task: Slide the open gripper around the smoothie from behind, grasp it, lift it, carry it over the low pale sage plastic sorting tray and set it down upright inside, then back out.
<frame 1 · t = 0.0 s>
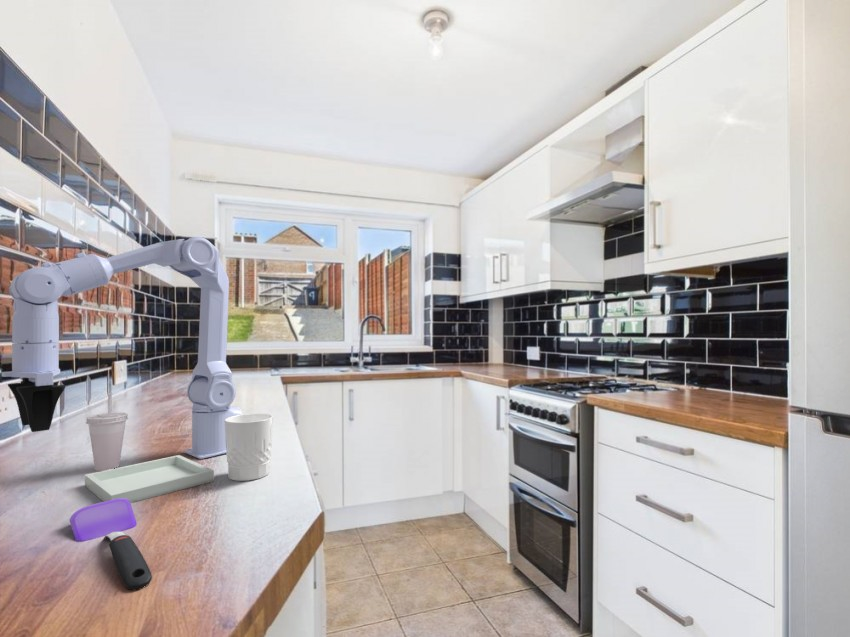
hand: (35, 427, 72), 10 cm above the counter, fingers open, 7 cm apart
spatula: (115, 552, 53), on the counter
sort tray: (149, 483, 75), on the counter
white cup: (249, 476, 79), on the counter
smoothie: (107, 468, 84), on the counter
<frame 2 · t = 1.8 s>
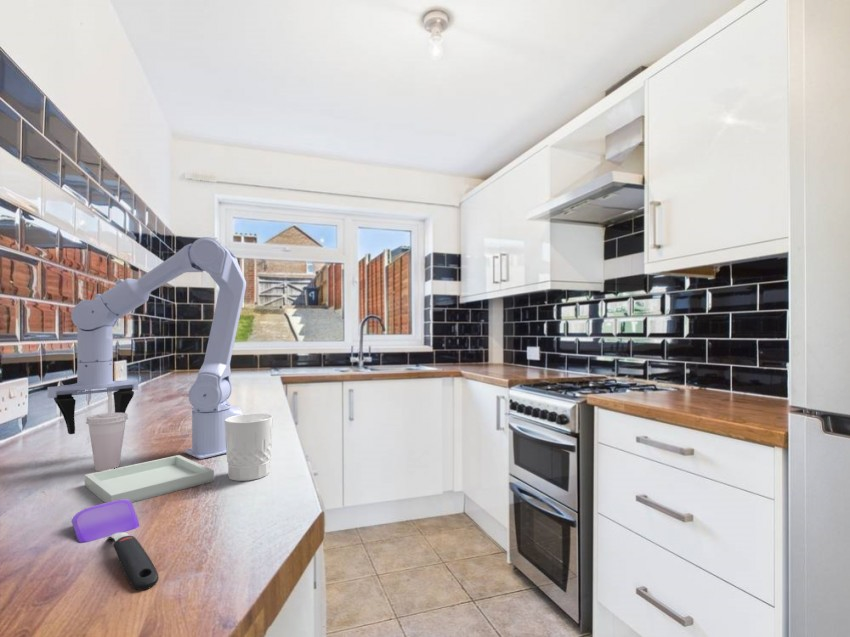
hand: (95, 429, 89), 6 cm above the counter, fingers open, 7 cm apart
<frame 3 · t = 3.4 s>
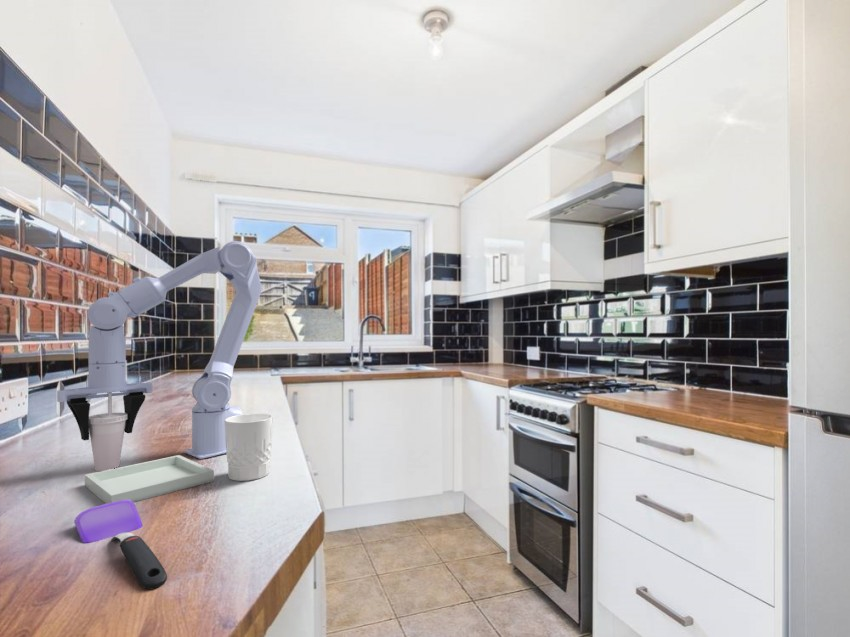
hand: (107, 435, 84), 6 cm above the counter, fingers closed on smoothie, 6 cm apart
smoothie: (107, 468, 84), on the counter, touching gripper
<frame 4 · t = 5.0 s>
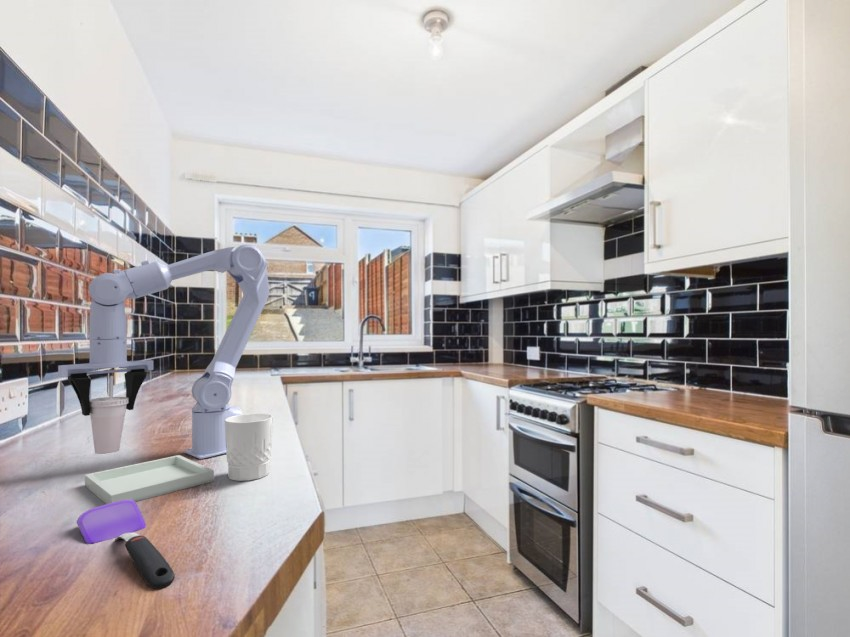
hand: (108, 412, 84), 10 cm above the counter, fingers closed on smoothie, 6 cm apart
smoothie: (107, 452, 84), point 3 cm above the counter, touching gripper
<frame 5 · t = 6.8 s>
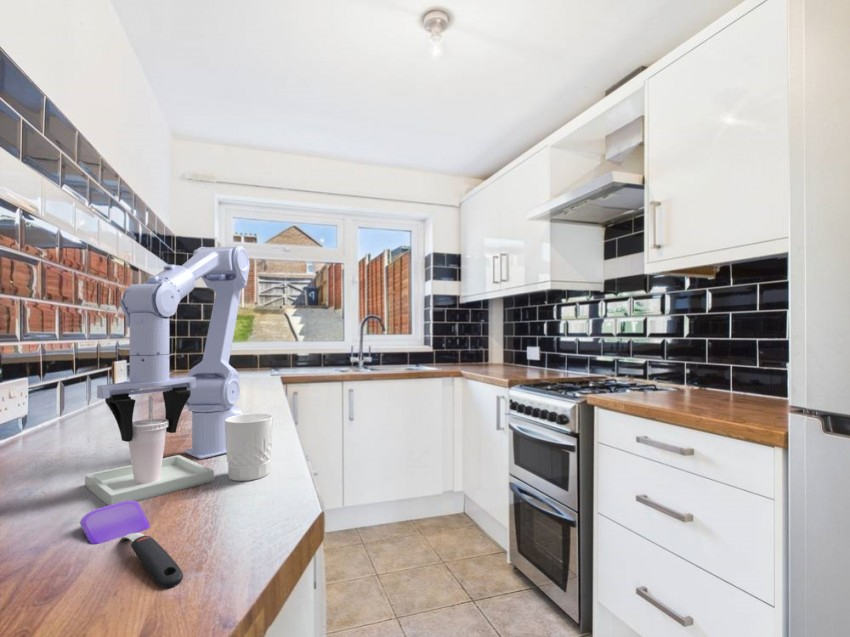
hand: (149, 436, 75), 8 cm above the counter, fingers closed on smoothie, 6 cm apart
smoothie: (147, 481, 75), resting on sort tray, touching gripper
when the fingers open (7 cm above the counter, at t = 7.5 s): smoothie stays where it is, resting on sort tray.
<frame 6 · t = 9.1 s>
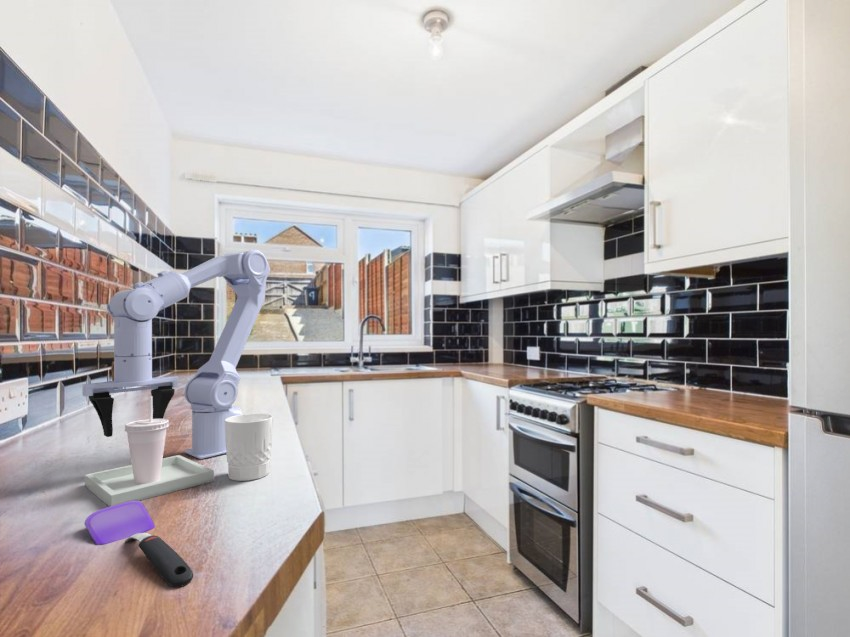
hand: (133, 431, 80), 7 cm above the counter, fingers open, 7 cm apart
smoothie: (147, 481, 75), resting on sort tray
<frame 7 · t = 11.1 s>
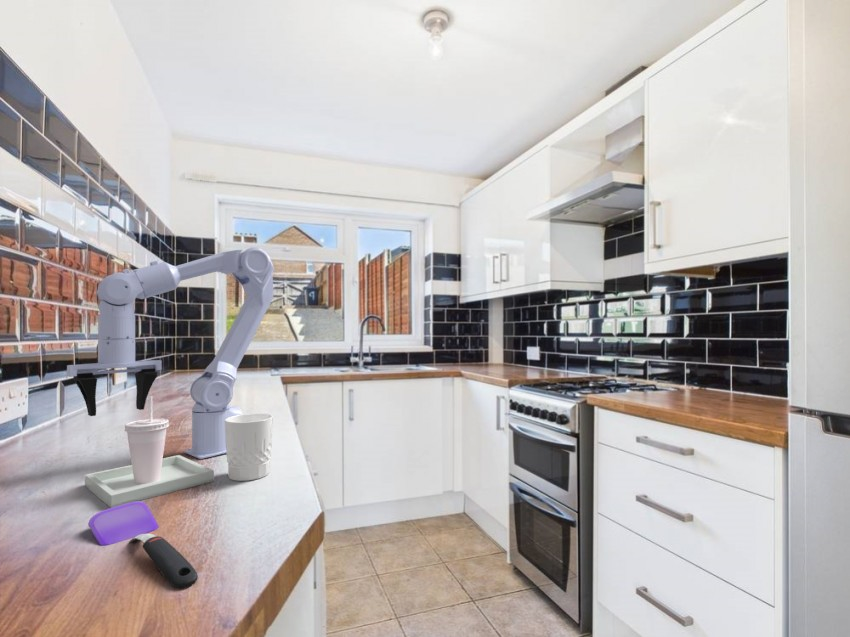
hand: (117, 412, 83), 10 cm above the counter, fingers open, 7 cm apart
at the end: smoothie inside the target area on the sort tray (0.8 cm from its centre), point 0.2 cm above the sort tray's base; smoothie tilted 0°; the gripper is holding nothing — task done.
